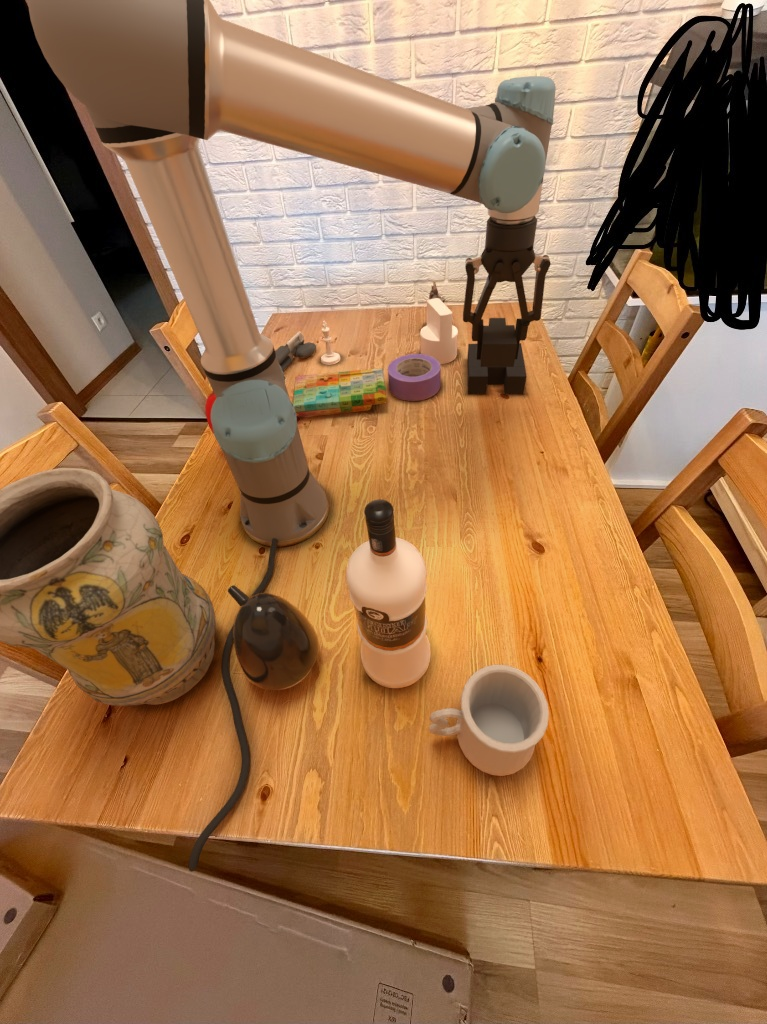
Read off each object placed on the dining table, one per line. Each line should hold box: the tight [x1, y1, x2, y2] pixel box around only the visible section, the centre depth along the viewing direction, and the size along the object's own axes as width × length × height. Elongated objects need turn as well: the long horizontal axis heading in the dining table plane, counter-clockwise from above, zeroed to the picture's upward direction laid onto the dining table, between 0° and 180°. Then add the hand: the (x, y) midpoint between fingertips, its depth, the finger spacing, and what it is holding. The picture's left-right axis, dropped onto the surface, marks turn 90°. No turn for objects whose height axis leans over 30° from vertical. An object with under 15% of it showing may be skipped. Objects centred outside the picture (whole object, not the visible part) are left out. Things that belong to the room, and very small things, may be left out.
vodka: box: [345, 498, 431, 689], centre depth 51 cm, size 9×9×30 cm
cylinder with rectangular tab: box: [419, 298, 459, 365], centre depth 109 cm, size 9×9×12 cm
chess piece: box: [320, 320, 341, 366], centre depth 112 cm, size 5×5×10 cm
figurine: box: [425, 280, 446, 326], centre depth 118 cm, size 6×6×12 cm
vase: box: [0, 467, 216, 707], centre depth 53 cm, size 18×18×30 cm
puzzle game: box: [292, 367, 388, 418], centre depth 102 cm, size 12×5×20 cm
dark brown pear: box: [227, 585, 320, 691], centre depth 57 cm, size 10×10×15 cm
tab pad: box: [480, 317, 517, 367], centre depth 87 cm, size 10×6×4 cm, turn 173°
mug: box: [428, 664, 550, 777], centre depth 51 cm, size 12×9×10 cm
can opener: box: [275, 330, 317, 372], centre depth 114 cm, size 19×6×5 cm, turn 153°
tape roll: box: [387, 353, 441, 402], centre depth 104 cm, size 12×12×5 cm
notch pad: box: [466, 342, 528, 395], centre depth 104 cm, size 14×12×4 cm
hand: (496, 355), depth 87 cm, fingers closed on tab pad, 6 cm apart
